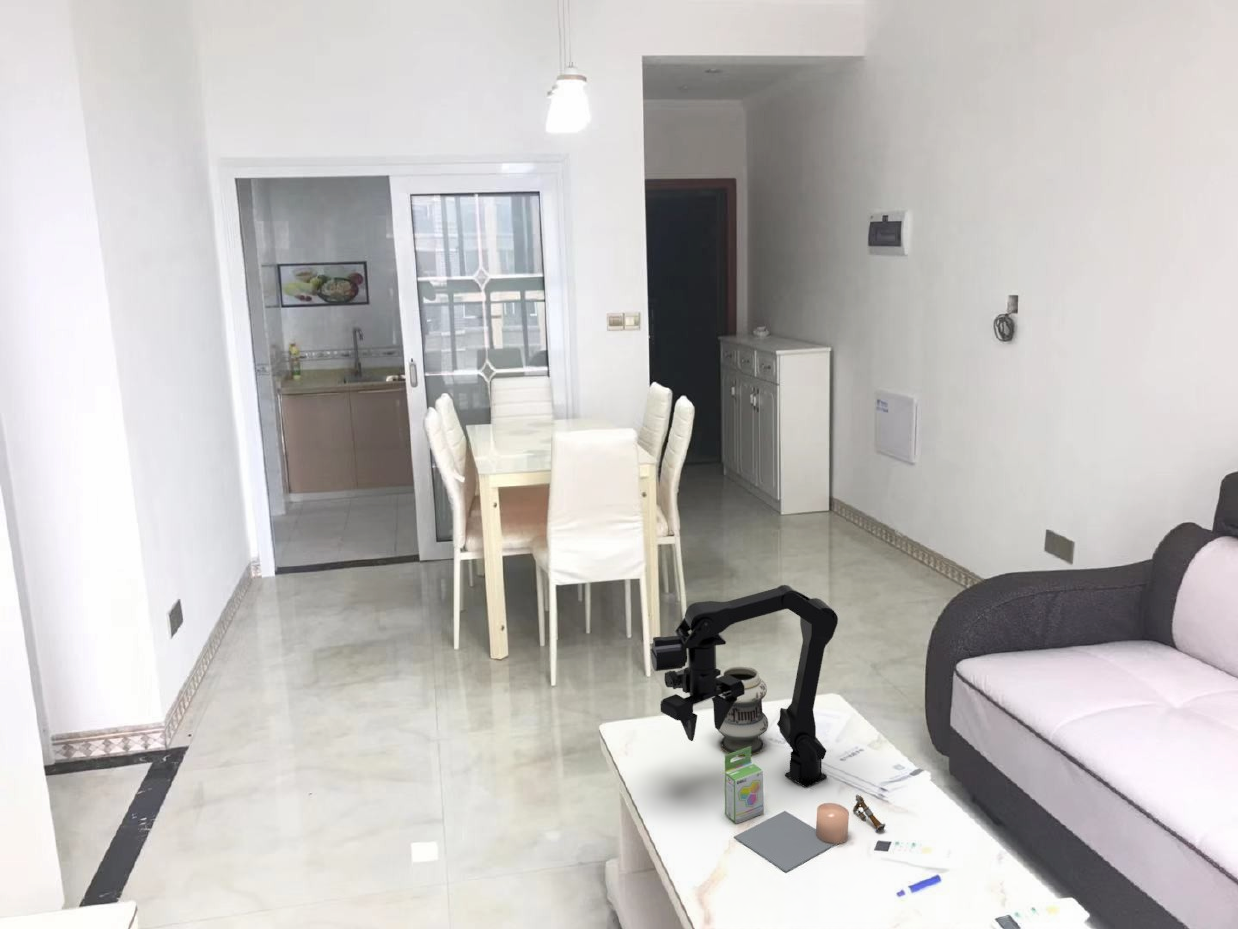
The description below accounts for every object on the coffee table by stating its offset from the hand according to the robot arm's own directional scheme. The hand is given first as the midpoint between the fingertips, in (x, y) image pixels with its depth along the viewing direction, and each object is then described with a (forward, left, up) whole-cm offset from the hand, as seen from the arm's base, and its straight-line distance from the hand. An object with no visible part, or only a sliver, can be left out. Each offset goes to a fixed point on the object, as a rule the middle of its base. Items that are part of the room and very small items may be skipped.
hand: (704, 734), depth 203 cm
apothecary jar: (-19, -9, -13) cm, 25 cm away
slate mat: (0, +23, -13) cm, 27 cm away
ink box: (0, +12, -13) cm, 18 cm away
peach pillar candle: (-8, +28, -13) cm, 32 cm away
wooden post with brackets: (-17, +29, -13) cm, 36 cm away
